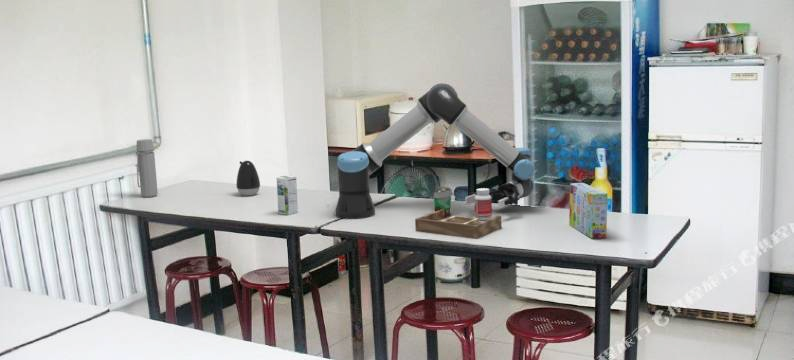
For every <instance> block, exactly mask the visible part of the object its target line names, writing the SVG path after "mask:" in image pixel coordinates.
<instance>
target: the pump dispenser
mask: <svg viewBox="0 0 794 360" xmlns="http://www.w3.org/2000/svg"><path fill="white" fill-rule="evenodd" d="M239 164H240V165H239V168H238V171H237V176H236V189H237V191H238V193H239V194H240V195H241V196H243V197H250V196H251V197H253V196H255V195H257V194H258V193H259V191H260V187H261V181H260V177H259V174H258V171H257V168H256V166H255V164H254V163H253V162H252V161H250V160H244V161H241V160H240V161H239Z"/></svg>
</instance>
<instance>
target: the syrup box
mask: <svg viewBox="0 0 794 360" xmlns="http://www.w3.org/2000/svg"><path fill="white" fill-rule="evenodd" d="M297 184H298V183H297V176H292V175H291V176H290V175H280V176H277V177H276V193H277V194H276V195H277V198H276V199H277V213H278V214H279V215H285V216H291V215H294V214H295V215H296V214H298V213H299V207H298V189H297V186H298V185H297Z"/></svg>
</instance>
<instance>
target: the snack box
mask: <svg viewBox="0 0 794 360" xmlns="http://www.w3.org/2000/svg"><path fill="white" fill-rule="evenodd" d="M568 216H569V219H568V220H569V223H568V224H569V226H570V227H572V228H573V229H574V230H577V231H578V232H580V233H582V234H583V235H586V237H588V238H590V239H592V240H595V239H606V238H607V222H608V220H607V219H608V218H607V217H608V193H607V192H605V191H604V190H603V191H602V190H601V189H598V188H596V187H593V186H591V185H589V184H587V183H585V182H573V183H569V215H568Z"/></svg>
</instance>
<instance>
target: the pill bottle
mask: <svg viewBox="0 0 794 360" xmlns="http://www.w3.org/2000/svg"><path fill="white" fill-rule="evenodd" d="M475 190H476V191H475V192H476V193H477V195H476V196H475V202H474V218H479V222H484V221H486V220H489V219H491V218H493V212H492V209H493V208H492V207H493V205H492V201H493V200H492V198H493V197H492V198H491V196H490V195H489V190H490V188H487V187H486V188H485V187H483V188H482V187H481V188H477V189H475Z"/></svg>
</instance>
